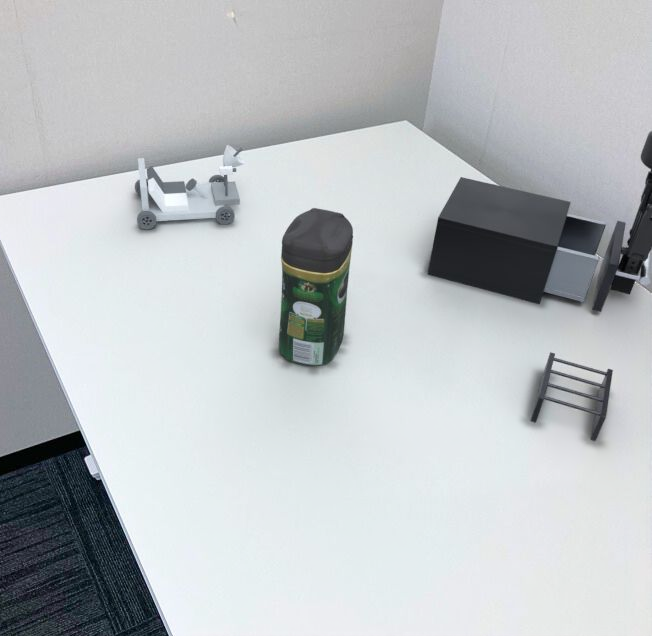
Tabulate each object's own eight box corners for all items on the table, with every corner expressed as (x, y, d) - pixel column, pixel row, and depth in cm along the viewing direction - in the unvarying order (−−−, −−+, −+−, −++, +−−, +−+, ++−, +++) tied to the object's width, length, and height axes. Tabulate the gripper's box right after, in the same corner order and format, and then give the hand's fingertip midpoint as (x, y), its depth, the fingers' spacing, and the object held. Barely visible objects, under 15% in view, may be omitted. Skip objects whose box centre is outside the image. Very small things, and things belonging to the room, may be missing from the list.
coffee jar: (293, 317, 103) (299, 197, 91) (348, 330, 101) (362, 209, 89) (269, 361, 96) (272, 236, 84) (328, 375, 94) (340, 251, 82)
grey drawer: (642, 275, 113) (661, 230, 108) (636, 321, 104) (657, 275, 99) (507, 242, 119) (519, 197, 114) (491, 283, 110) (503, 237, 105)
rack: (602, 393, 94) (613, 369, 92) (595, 441, 88) (606, 417, 85) (542, 375, 96) (550, 352, 94) (530, 421, 90) (538, 397, 87)
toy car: (240, 135, 123) (251, 167, 115) (241, 188, 130) (251, 223, 121) (129, 140, 120) (131, 173, 112) (135, 194, 127) (138, 230, 118)
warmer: (553, 257, 118) (570, 201, 112) (539, 304, 108) (557, 246, 102) (449, 231, 122) (460, 176, 116) (427, 274, 112) (438, 217, 106)
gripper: (652, 112, 100) (598, 261, 115) (647, 150, 90) (589, 307, 106) (712, 123, 98) (649, 273, 113) (713, 164, 88) (644, 321, 104)
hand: (620, 289), depth 109 cm, fingers closed
